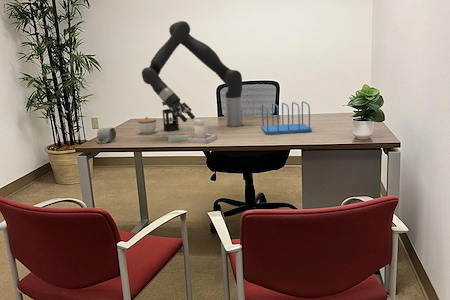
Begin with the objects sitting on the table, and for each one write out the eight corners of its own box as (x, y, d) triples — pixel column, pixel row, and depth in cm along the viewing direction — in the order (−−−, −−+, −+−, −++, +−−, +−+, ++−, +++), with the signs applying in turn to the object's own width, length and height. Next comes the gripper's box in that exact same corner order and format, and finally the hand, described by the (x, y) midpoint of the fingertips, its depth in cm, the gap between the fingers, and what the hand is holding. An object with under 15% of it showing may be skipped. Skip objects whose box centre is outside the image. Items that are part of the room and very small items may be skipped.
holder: (188, 142, 233) (187, 138, 232) (197, 137, 243) (197, 134, 242) (207, 143, 228) (207, 139, 228) (216, 138, 238) (216, 134, 238)
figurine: (192, 141, 235) (191, 120, 232) (197, 138, 240) (196, 118, 237) (206, 142, 232) (205, 121, 229) (211, 139, 237) (210, 119, 234)
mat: (190, 135, 249) (190, 134, 249) (191, 140, 237) (190, 139, 237) (168, 137, 248) (168, 136, 248) (168, 141, 236) (168, 140, 236)
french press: (174, 131, 262) (172, 92, 257) (160, 131, 265) (157, 92, 260) (182, 127, 273) (180, 90, 268) (168, 127, 276) (166, 90, 271)
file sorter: (303, 126, 260) (303, 100, 257) (311, 132, 243) (311, 104, 240) (261, 129, 259) (260, 102, 255) (266, 135, 242) (265, 107, 238)
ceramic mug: (103, 139, 249) (102, 126, 247) (117, 139, 247) (115, 126, 245) (93, 144, 240) (92, 130, 238) (107, 144, 237) (106, 130, 235)
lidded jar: (148, 130, 270) (147, 115, 268) (160, 132, 264) (159, 116, 261) (134, 133, 262) (133, 117, 260) (147, 135, 256) (145, 119, 253)
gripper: (166, 94, 230) (187, 117, 228) (180, 91, 242) (200, 112, 240) (158, 104, 233) (179, 127, 231) (172, 100, 246) (192, 122, 244)
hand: (189, 119), depth 236 cm, fingers open, 8 cm apart
